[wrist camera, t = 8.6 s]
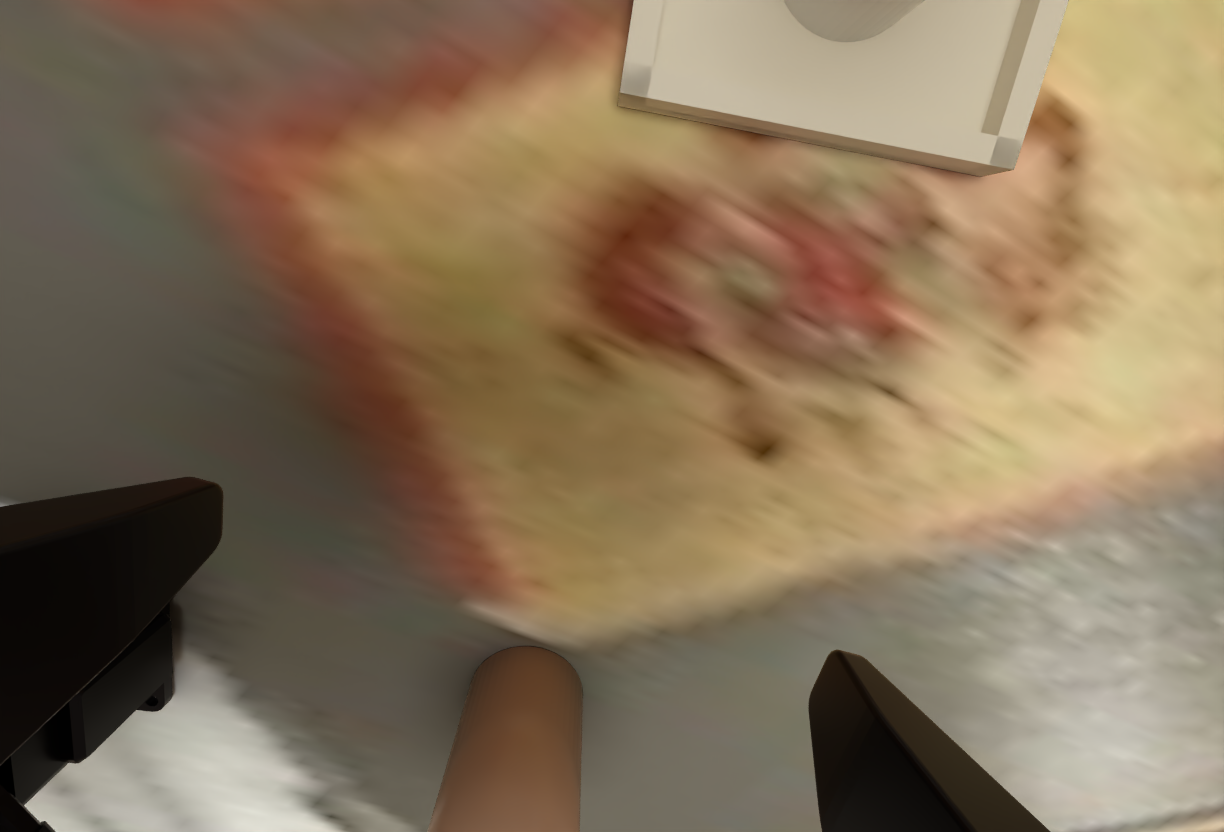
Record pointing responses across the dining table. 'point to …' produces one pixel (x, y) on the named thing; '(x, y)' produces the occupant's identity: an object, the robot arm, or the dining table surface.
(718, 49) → the tray
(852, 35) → the salt shaker
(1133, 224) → the dining table surface
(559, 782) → the pepper shaker
